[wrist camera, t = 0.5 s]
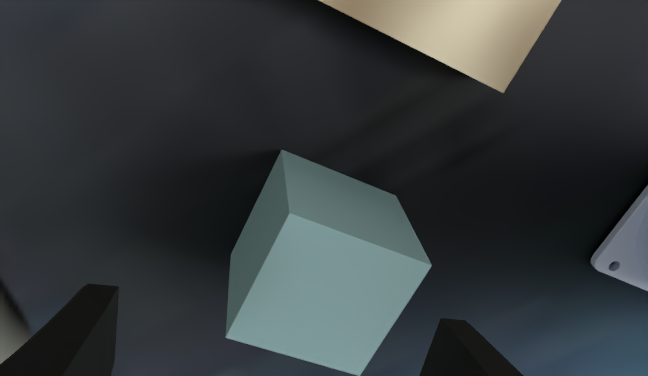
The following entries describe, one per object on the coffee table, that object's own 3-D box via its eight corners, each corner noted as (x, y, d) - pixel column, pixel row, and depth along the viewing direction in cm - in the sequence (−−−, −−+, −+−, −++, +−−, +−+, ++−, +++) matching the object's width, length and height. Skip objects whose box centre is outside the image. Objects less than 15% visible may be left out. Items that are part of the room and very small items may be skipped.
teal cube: (395, 194, 22) (432, 265, 17) (339, 289, 24) (359, 375, 19) (281, 148, 20) (289, 213, 16) (231, 253, 22) (225, 337, 18)
